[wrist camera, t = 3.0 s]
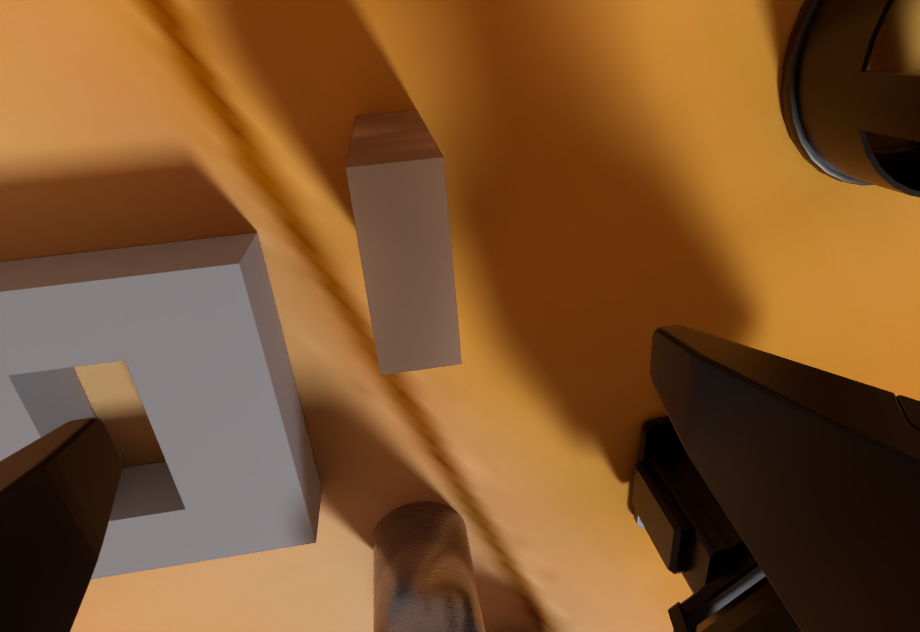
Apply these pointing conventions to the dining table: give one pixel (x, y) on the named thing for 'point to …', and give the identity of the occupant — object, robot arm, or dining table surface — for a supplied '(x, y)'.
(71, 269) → the slotted block
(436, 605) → the round metal peg
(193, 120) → the dining table surface
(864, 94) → the french press
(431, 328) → the walnut bar
